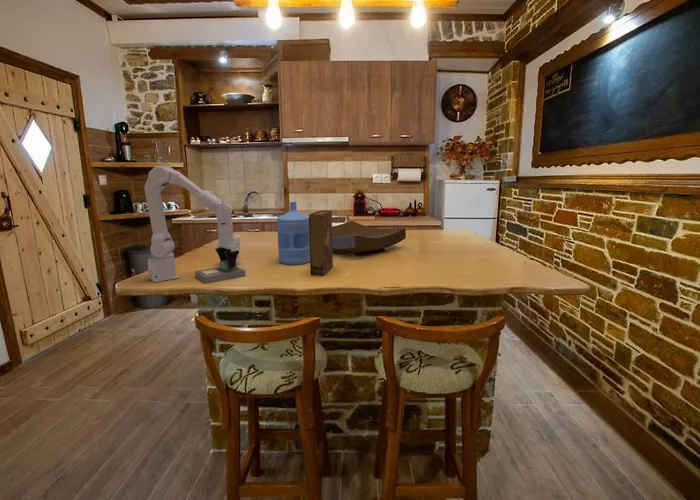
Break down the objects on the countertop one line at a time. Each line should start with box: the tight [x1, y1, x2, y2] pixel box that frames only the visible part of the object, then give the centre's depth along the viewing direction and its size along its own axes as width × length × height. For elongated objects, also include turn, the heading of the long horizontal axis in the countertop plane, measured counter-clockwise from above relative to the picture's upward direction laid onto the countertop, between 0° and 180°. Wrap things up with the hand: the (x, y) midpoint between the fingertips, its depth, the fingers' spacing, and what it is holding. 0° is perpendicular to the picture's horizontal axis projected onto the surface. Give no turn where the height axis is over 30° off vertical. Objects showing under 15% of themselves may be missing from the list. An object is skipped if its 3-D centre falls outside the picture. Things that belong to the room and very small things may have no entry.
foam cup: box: [233, 234, 242, 266], centre depth 165 cm, size 10×9×13 cm
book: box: [308, 210, 334, 276], centre depth 151 cm, size 16×6×25 cm, turn 168°
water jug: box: [276, 201, 310, 266], centre depth 168 cm, size 16×16×28 cm
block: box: [219, 260, 238, 272], centre depth 147 cm, size 5×5×6 cm
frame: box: [194, 266, 246, 284], centre depth 146 cm, size 16×12×3 cm
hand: (228, 266), depth 147 cm, fingers open, 7 cm apart
